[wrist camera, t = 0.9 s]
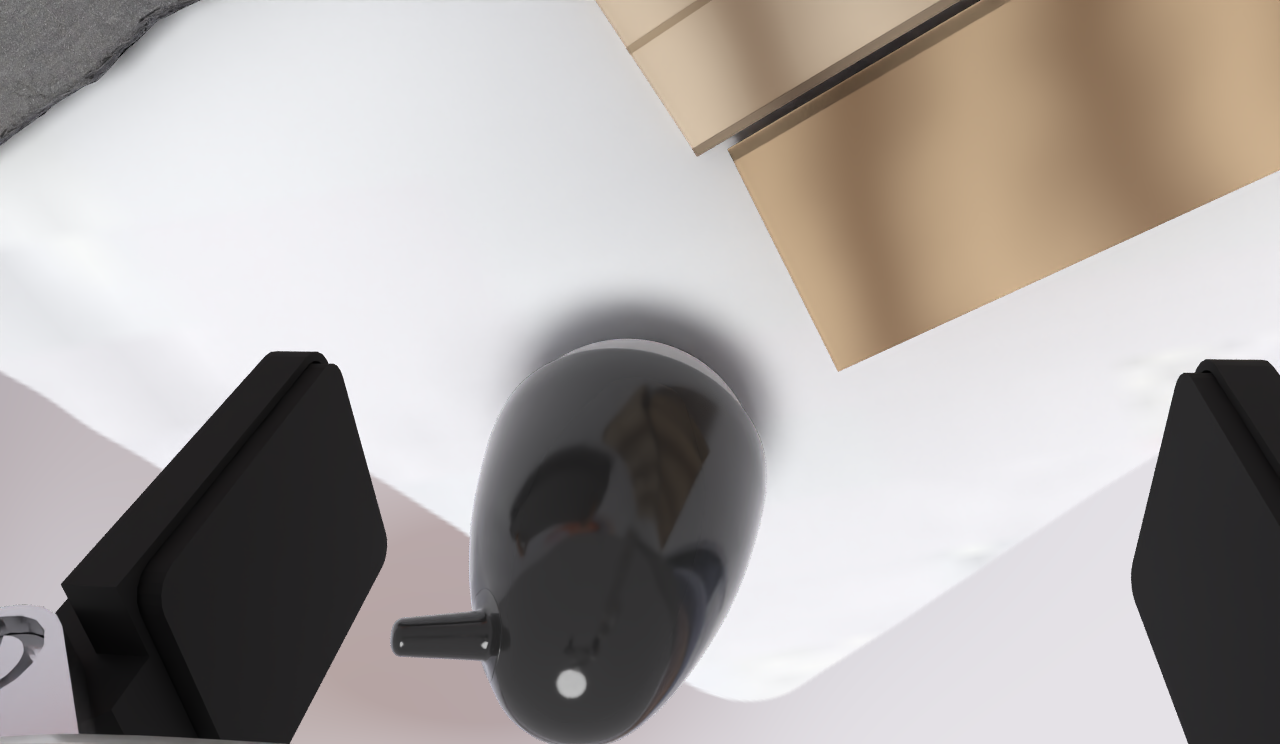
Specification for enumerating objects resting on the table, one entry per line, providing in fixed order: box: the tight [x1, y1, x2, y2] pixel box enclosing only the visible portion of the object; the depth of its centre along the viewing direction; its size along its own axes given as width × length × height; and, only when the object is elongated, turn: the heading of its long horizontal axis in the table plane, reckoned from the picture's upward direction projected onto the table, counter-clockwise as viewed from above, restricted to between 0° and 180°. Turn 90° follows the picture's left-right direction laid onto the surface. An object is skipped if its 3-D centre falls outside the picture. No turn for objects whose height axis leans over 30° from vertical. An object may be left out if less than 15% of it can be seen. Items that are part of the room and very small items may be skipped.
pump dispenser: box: [390, 339, 767, 744], centre depth 33 cm, size 10×10×15 cm
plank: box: [728, 0, 1280, 372], centre depth 28 cm, size 22×8×1 cm, turn 124°
